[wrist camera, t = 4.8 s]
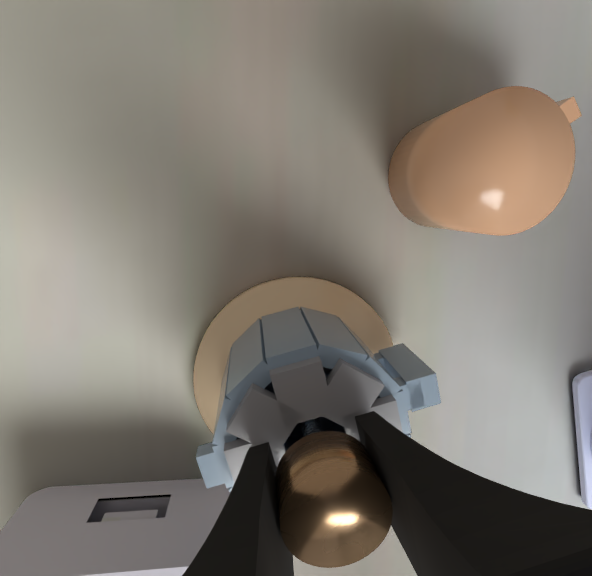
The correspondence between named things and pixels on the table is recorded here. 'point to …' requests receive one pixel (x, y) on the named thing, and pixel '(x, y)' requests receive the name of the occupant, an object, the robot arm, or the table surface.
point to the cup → (487, 163)
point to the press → (298, 371)
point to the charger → (110, 529)
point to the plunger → (330, 496)
